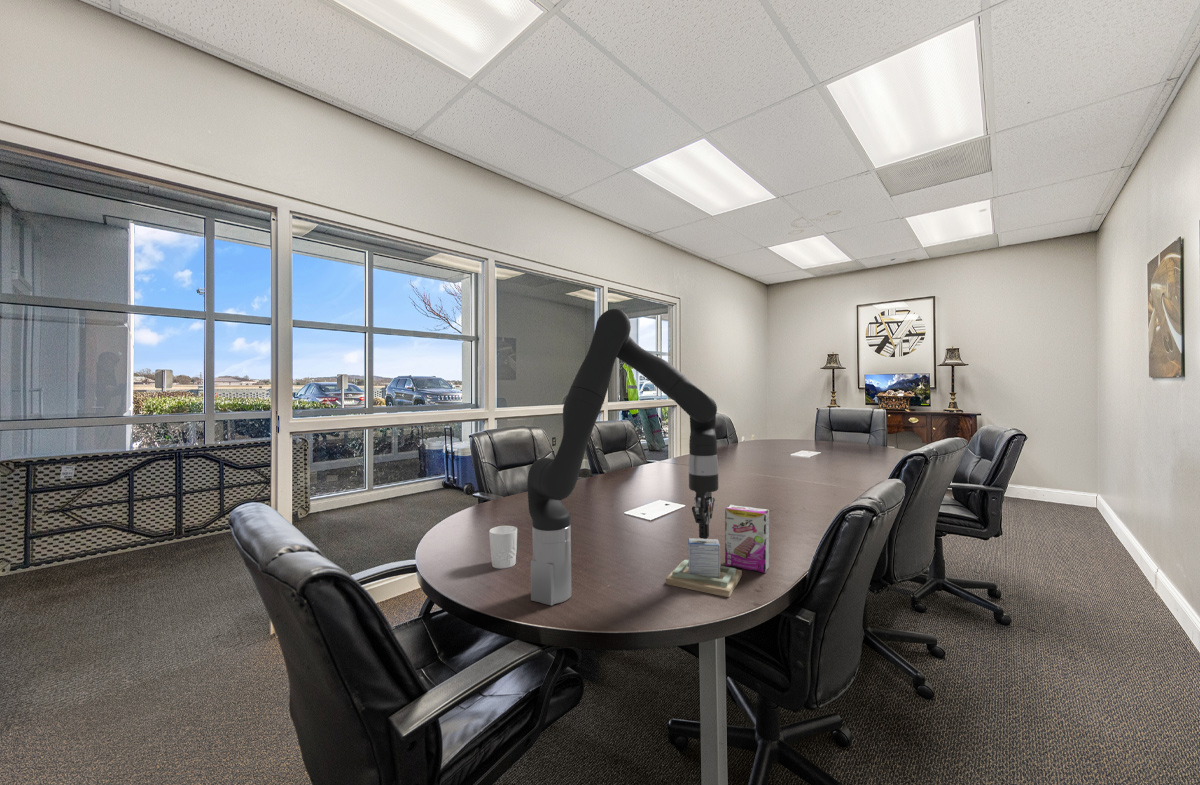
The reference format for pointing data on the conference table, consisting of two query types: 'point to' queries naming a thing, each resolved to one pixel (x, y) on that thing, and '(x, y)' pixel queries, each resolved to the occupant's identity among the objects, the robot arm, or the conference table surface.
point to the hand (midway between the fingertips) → (704, 537)
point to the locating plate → (705, 580)
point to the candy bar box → (747, 538)
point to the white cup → (503, 546)
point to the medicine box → (704, 557)
